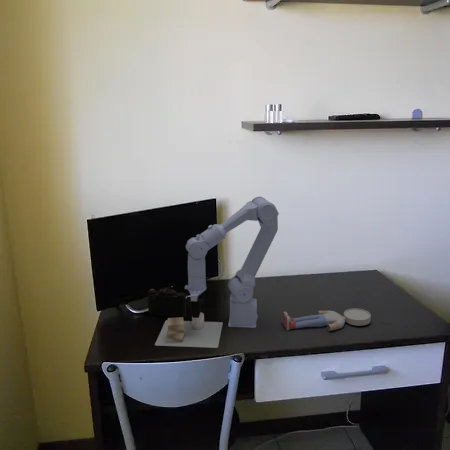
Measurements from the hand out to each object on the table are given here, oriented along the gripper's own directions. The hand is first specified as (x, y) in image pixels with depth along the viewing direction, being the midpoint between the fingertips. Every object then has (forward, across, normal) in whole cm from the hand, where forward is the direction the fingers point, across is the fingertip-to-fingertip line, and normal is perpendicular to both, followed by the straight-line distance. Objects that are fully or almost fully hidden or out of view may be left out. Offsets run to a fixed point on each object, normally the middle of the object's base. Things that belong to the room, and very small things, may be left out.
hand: (197, 312), depth 163 cm
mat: (+6, +4, -2) cm, 8 cm away
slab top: (+3, +8, -6) cm, 10 cm away
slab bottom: (+6, +8, -6) cm, 11 cm away
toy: (+6, -6, +44) cm, 45 cm away
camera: (+6, -12, -12) cm, 18 cm away
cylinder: (+6, 0, 0) cm, 6 cm away
